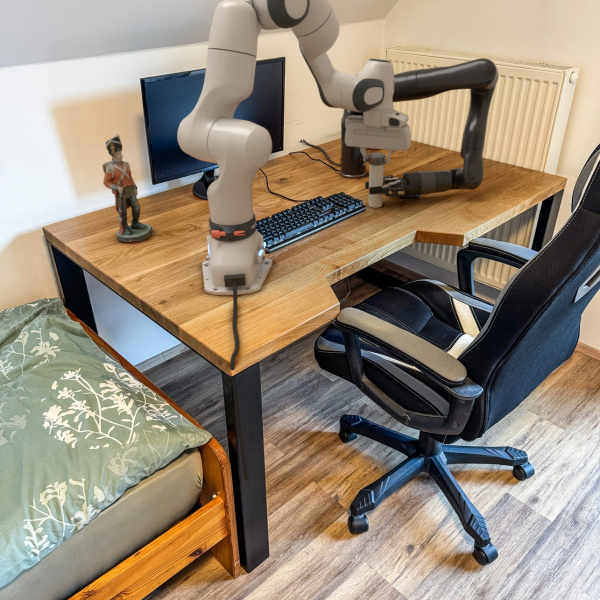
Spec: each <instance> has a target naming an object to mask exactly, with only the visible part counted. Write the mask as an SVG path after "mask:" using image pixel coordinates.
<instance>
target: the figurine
mask: <svg viewBox="0 0 600 600" xmlns="http://www.w3.org/2000/svg"><path fill="white" fill-rule="evenodd" d="M105 148H106V150H107V153H108V155H110V156H111V160H110V161H107V162H104V163H103V164H102V170H103V173H104V177H103V185H104V186H105V188H107V189H109V190H111V194H112V195H114V198H115V201H114V204H115V206H114V209H115V211H116V212H117V213H118V216H117V221H118V222H119V228H118V230H117V231H116V233H115V234H116V239H117V240H118V241H119V242H124V243H132V242H133V243H134V242H135V241H136V242H140V241H145V240H146V239H148V238H150V237H151V236H152V235H153V227H152V225H150V224H148V223H146V222H140V215H141V208H142V207H141V204H140V202H139V199H138V198H137V197H138V194H139V191H138V188H139V187H138V186H137V184H136V183H135V180H134V178H133V177H132V170H131V165H130V162H129V161H124V160H123V157H124V156H123V154H122V151H123V143H122V141H121V138H120V135H119V133H116V134H115V135H114V136H113V137H111V138H110V139H108V140H106V142H105ZM129 208H130V209H131V217H132V220H131V222H130V224H128V210H129Z"/></svg>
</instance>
